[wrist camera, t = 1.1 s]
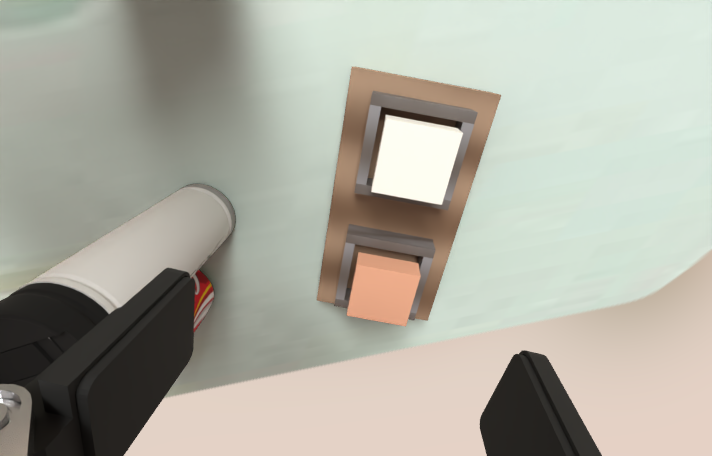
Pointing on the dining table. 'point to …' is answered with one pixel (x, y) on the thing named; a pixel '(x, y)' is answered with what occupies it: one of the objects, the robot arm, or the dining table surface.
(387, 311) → the terracotta key
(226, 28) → the dining table surface
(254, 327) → the dining table surface
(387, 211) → the board
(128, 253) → the travel mug
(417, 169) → the white key
